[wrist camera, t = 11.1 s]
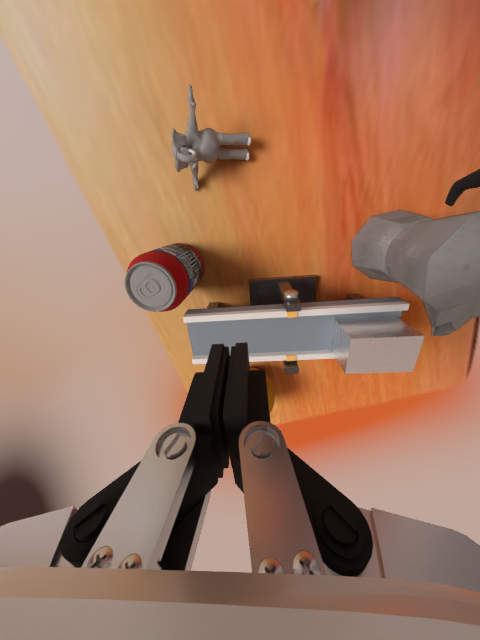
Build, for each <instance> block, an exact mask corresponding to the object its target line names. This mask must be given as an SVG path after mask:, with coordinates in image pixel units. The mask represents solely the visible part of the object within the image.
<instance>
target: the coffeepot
mask: <svg viewBox="0 0 480 640" xmlns="http://www.w3.org/2000/svg"><path fill="white" fill-rule="evenodd" d="M477 187H480V169H479V170H477V171H475V172H473V173H471V174H469V175H467V176H466V177H464V178H462V179H460V180H458V181H456V182H455V183H454V184H453V186H452V187H451V189H450V191H449V193H448V196H447V199H446V201H445V203H446V204H447V205H449V206H453V205H454V203H455V201H456V200H457V199H458V197H459V196H460V195H461V194H462V193H463V191H465V190H466V189H470V188H477ZM351 254H352V265H353V266H354V267H355V268H357V269H358V270H359V271H361V272H362V273H364V274H365V275H366V276H368V277H369V278H372V279H378V280H384V281H390V282H397V283H398V282H400V283H401V284H402V285H403V286H405V287H406V288H407V289H409V290H410V291H411V292H413V293H414V294H415V295H417V296H418V297H419V298H421V299H422V301H423V304H424V306H425V309H426V312H427V314H428V317H429V320H430V323H431V325H432V331H431V332H432V333H431V335H435V336H444V335H449V334H450V333H451V332H452V331H456V330H457V329H459V328H460V327H461V326H462V325H464V324H465V323H466V322H468V321H469V320H470V319H471V318H472V317H478V316H480V211H477V212H471V213H466V214H460V215H455V216H449V217H444V218H439V219H434V220H433V219H431V218H429V217H425V216H422V215H418V214H415V213H411V212H407V211H404V210H397V211H392V212H388V213H383V214H379V215H375V216H372V217H371V218H370V219H369V220H368V221H367V222H366V223H365V224H364V226H363V227H362V228H361V229H360V230H359V232H358V233H357V235H356V236H355V237H354V238H353V240H352V251H351Z"/></svg>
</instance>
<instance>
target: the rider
mask: <svg viewBox="0 0 480 640" xmlns="http://www.w3.org/2000/svg"><path fill="white" fill-rule="evenodd" d="M424 337H425V335H423V334H422V333H420V332H419V331H417V330H416V329H414V328H413V327H411V326H410V325H408V324H407V323H405V322H404V321H402V320H401V319H399V318H398V317H396V316H395V315H382V316H361V317H340V318H333V325H332V334H331V342H330V350H331V352H332V353H333V355H334V356H335V358H336V360H337V361H338V363H339V365H340V366H341V368H342V370H343V371H344V373H345V374H354V373H387V372H413V370H414V367H415V364H416V361H417V358H418V355H419V352H420V349H421V346H422V343H423V340H424Z"/></svg>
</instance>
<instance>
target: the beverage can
mask: <svg viewBox="0 0 480 640" xmlns="http://www.w3.org/2000/svg"><path fill="white" fill-rule="evenodd" d="M203 272H204V265H203V261H202V258H201V256H200V255H199V253H198V252H197V251H196V250H195V249H194V248H192V247H191V246H189V245H186V244H182V243H176V244H172V245H168V246H165V247H162V248H159V249H155V250H152V251H150V252H147V253H144V254H141V255H139V256H137V257H136V258H135V259H133V261H132V262H131V263H130V265H129V267H128V270H127V274H126V276H125V288H126V291H127V294H128V295H129V297H130V299H131V300H132V301H133V302H134V303H135V304H136V305H138V306H139V307H140V308H142V309H145V310H147V311H153V312H157V311H160V312H163V311H169V310H172V309H174V308H176V307H177V306H179V305H180V304H181V303H182V301H183V300H184V299H185V298H186V297H187V296H188V295H189V293H190V292H191V291H192V290H193V289H194V287H195V286H196V285H197V284H198V282H199V281H200V280H201V278H202V276H203Z"/></svg>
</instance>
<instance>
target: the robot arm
mask: <svg viewBox="0 0 480 640" xmlns="http://www.w3.org/2000/svg"><path fill="white" fill-rule="evenodd" d="M229 456H230V460H231V465H232V468H233V473H234V478H235V483H236V484H237V486H238V487H239V488H240V489H241V491H242V492H243V493H244V499H245V509H246V518H247V528H248V537H249V546H250V555H251V564H252V573H241V572H210V571H209V572H208V571H191V567H192V563H193V559H194V556H195V552H196V548H197V544H198V541H199V537H200V533H201V529H202V525H203V521H204V517H205V514H206V510H207V506H208V502H209V499H210V492H211V489H212V488H213V487H214V486H215V485H216V484H217V483H218V478H222V477H223V469H224V468H228V466H229ZM0 640H480V545H478V544H477V543H475V542H474V541H473V540H471V539H470V538H469V537H467V536H466V535H464V534H461V533H459V532H457V531H454V530H452V529H448V528H445V527H441V526H437V525H434V524H430V523H426V522H422V521H419V520H415V519H411V518H407V517H404V516H400V515H396V514H392V513H389V512H385V511H382V510H378V509H374V508H371V511H369V510H366V509H362V508H358V507H356V505H355V504H354V503H353V502H352V501H350V500H349V499H348V498H347V497H346V496H344V495H343V494H342V493H341V492H340V491H338V490H337V489H336V488H335V487H334V486H332V485H331V484H330V483H329V482H328V481H326V480H325V479H324V478H323V477H322V476H320V475H319V474H318V473H317V472H316V471H315V470H313V469H312V468H311V467H309V465H307V464H306V463H305V462H304V461H303V460H301V459H300V458H299V457H298V456H297V455H295V454H294V453H293V452H292V451H291V450H289V449H288V448H287V446H286V443H285V439H284V436H283V435H282V433H281V431H280V430H279V429H278V428H277V426H275V425H273V424H272V423H270V414H269V403H268V393H267V383H266V373H265V370H250V365H249V353H248V343H247V342H245V343H236V346H232V347H231V354H230V353H229V347H228V346H227V347H225V346H224V344H212V346H211V349H210V353H209V356H208V360H207V363H206V367H205V371H204V372H199V373H195V375H194V377H193V380H192V383H191V386H190V389H189V392H188V396H187V398H186V402H185V405H184V407H183V410H182V413H181V416H180V419H179V423H175V424H172V425H169V426H167V427H165V428H164V429H163V430H161V432H159V433H158V434H157V436H156V437H155V438H154V440H153V441H152V443H151V445H150V447H149V449H148V450H147V452H146V454H145V456H144V457H143V459H142V461H140V462H139V463H137V464H136V465H135V466H133V467H132V468H131V469H130V470H128V471H127V472H125V473H124V474H123V475H121V476H120V477H119V478H118V479H116V480H115V481H113V482H112V483H111V484H109V485H108V486H107V487H105V488H104V489H103V490H101V491H100V492H99V493H97V494H96V495H95V496H93V497H92V498H91V499H89V500H88V501H87V502H86V503H85V504H84V505H82V506H81V507H80V508H75V507H74V506H71V507H67V508H64V509H60V510H56V511H52V512H49V513H45V514H41V515H38V516H34V517H30V518H26V519H23V520H19V521H15V522H11V523H8V524H5V525H3V526H1V527H0Z"/></svg>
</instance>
